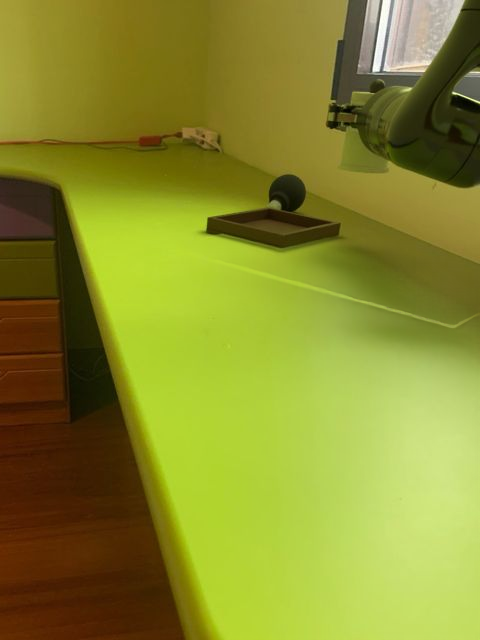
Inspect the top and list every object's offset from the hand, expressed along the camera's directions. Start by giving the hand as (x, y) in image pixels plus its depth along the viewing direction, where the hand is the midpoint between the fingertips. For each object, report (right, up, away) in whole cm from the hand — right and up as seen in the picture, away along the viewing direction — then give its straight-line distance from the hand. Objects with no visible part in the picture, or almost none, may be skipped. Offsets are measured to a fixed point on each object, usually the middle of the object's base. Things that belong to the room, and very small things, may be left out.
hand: (367, 114), depth 91 cm
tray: (-10, -12, +14) cm, 21 cm away
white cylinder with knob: (0, -7, +1) cm, 7 cm away
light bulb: (-6, -4, +30) cm, 30 cm away
